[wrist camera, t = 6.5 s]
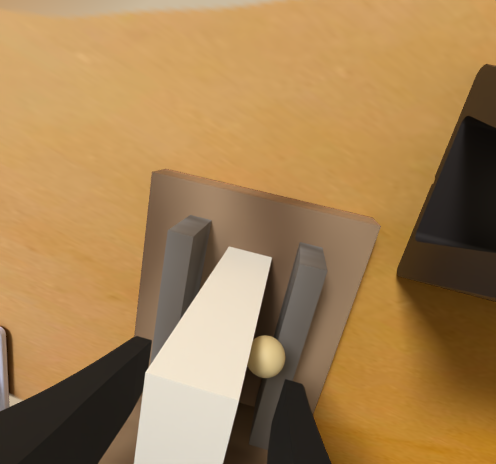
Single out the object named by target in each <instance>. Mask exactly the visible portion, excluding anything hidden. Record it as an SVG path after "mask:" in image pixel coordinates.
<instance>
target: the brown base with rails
mask: <svg viewBox="0 0 496 464" xmlns="http://www.w3.org/2000/svg"><path fill="white" fill-rule="evenodd" d="M380 227H381V226H380V225H379V224H378V223H377V222H376V221H375V220H374V219H373V218H372V217H368V216H363V215H359V214H355V213H351V212H346V211H342V210H338V209H334V208H330V207H325V206H321V205H317V204H313V203H308V202H304V201H300V200H296V199H291V198H287V197H283V196H279V195H274V194H270V193H266V192H262V191H257V190H253V189H249V188H245V187H241V186H236V185H232V184H228V183H224V182H219V181H215V180H211V179H207V178H202V177H198V176H194V175H190V174H185V173H181V172H177V171H173V170H169V169H163V170H159V171H154V172H152V177H151V187H150V196H149V205H148V215H147V224H146V233H145V242H144V252H143V261H142V270H141V279H140V289H139V298H138V307H137V317H136V326H135V335H134V337H135V336H139V337H142V338H146V339H149V340H152V344H151V352H150V360H149V366H150V365H151V363H152V362H153V360H154V359H155V357H156V356H157V354H158V353H159V351H160V350H161V348H162V347H163V345H164V344H165V342H166V341H167V339H168V338H169V336H170V335H171V333H172V332H173V330H174V329H175V327H176V326H177V324H178V323H179V321H180V320H181V318H182V317H183V315H184V314H185V312H186V311H187V309H188V308H189V306H190V305H191V303H192V302H193V300H194V299H195V297H196V296H197V294H198V293H199V291H200V290H201V288H202V287H203V285H204V283H205V282H206V280H207V279H208V277H209V276H210V274H211V273H212V271H213V270H214V268H215V267H216V265H217V264H218V262H219V261H220V259H221V258H222V256H223V255H224V253H225V252H226V250H227V249H228V247H233V248H237V249H241V250H245V251H249V252H253V253H256V254H260V255H264V256H268V257H272V260H271V264H270V268H269V273H268V277H267V281H266V286H265V290H264V294H263V299H262V303H261V307H260V312H259V316H258V320H257V325H256V329H255V333H254V338H253V340H254V339H255V338H257V337H259V336H264V335H266V336H271V337H274V338H275V339H277V340H278V341H279V342H280V343H281V345H282V346H283V348H284V351H285V363H284V366H283V368H282V370H281V371H280V372H279V373H278V374H277V375H275V376H274V377H271V378H261V377H258V376H256V375H255V374H253V373H252V372H251V370H250V369H249V367H248V365H247V368H246V372H245V377H244V381H243V385H242V390H241V394H240V398H239V402H238V406H237V410H236V414H235V418H234V422H233V426H232V430H231V434H230V438H229V442H228V446H227V450H226V453H225V457H224V461H223V464H267V453H268V446H269V438H270V431H271V424H272V420H273V417H274V413H275V410H276V407H277V404H278V400H279V397H280V394H281V391H282V387H283V384H284V381H285V379H287V380H291V381H294V382H298V383H301V384H303V386H304V387H305V391H306V395H307V398H308V402H309V405H310V408H311V411H312V414H313V413H314V410H315V408H316V405H317V402H318V399H319V396H320V394H321V391H322V388H323V385H324V383H325V380H326V377H327V374H328V371H329V369H330V366H331V363H332V360H333V358H334V355H335V352H336V349H337V346H338V344H339V341H340V338H341V335H342V333H343V330H344V327H345V324H346V321H347V319H348V316H349V313H350V310H351V308H352V305H353V302H354V299H355V296H356V294H357V291H358V288H359V285H360V283H361V280H362V277H363V274H364V271H365V269H366V266H367V263H368V260H369V258H370V255H371V252H372V249H373V246H374V244H375V241H376V238H377V235H378V232H379V230H380ZM142 395H143V392H142V394H141V396H140V398H139V400H138V402H137V404H136V405H135V407H134V409H133V411H132V413H131V414H130V416H129V417H128V419H127V421H126V422H125V424H124V425H123V427H122V428H121V430H120V431H119V433H118V434H117V436H116V437H115V439H114V440H113V442H112V443H111V445H110V446H109V448H108V449H107V451H106V452H105V454H104V455H103V457H102V458H101V460H100V461H99V463H98V464H134V459H135V451H136V443H137V435H138V427H139V419H140V411H141V403H142Z"/></svg>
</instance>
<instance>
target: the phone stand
mask: <svg viewBox="0 0 496 464" xmlns="http://www.w3.org/2000/svg"><path fill="white" fill-rule="evenodd" d="M435 176H436V180H435V182H434V184H432V185H431V188H430V190H429V192H428V195H427V197H426V200H425V202H424V205H423V207H422V210H421V212H420V214H419V217H418V219H417V222H416V224H415V227H414V229H413V232H412V234H411V236H410V239H409V241H408V244H407V246H406V249H405V251H404V254H403V256H402V258H401V261H400V263H399V266H398V269H397V274H398V276H399V277H403V278H407V279H411V280H415V281H418V282H422V283H426V284H430V285H434V286H438V287H441V288H445V289H449V290H453V291H457V292H461V293H464V294H468V295H472V296H476V297H480V298H484V299H487V300H491V301H495V302H496V66H494V65H489V64H485V65H484V66H483V67H482V68H481V69H480V70H479V72H478V73H477V75H476V78H475V80H474V82H473V85H472V87H471V90H470V92H469V95H468V97H467V100H466V102H465V104H464V107H463V109H462V112H461V114H460V117H459V119H458V122H457V124H456V126H455V129H454V131H453V134H452V136H451V139H450V141H449V144H448V146H447V148H446V151H445V153H444V156H443V158H442V161H441V163H440V166H439V168H438V170H437V173H436V175H435Z"/></svg>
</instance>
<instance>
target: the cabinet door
mask: <svg viewBox="0 0 496 464" xmlns="http://www.w3.org/2000/svg"><path fill="white" fill-rule="evenodd" d="M271 260H272V257H268V256H264V255H260V254H256V253H253V252H249V251H245V250H241V249H237V248H233V247H228V249H227V250H226V252H225V253H224V255H223V256H222V258H221V259H220V261H219V262H218V264H217V265H216V267H215V268H214V270H213V271H212V273H211V274H210V276H209V277H208V279H207V280H206V282H205V283H204V285H203V287H202V288H201V290H200V291H199V293H198V294H197V296H196V297H195V299H194V300H193V302H192V303H191V305H190V306H189V308H188V309H187V311H186V312H185V314H184V315H183V317H182V318H181V320H180V321H179V323H178V324H177V326H176V327H175V329H174V330H173V332H172V333H171V335H170V336H169V338H168V339H167V341H166V342H165V344H164V345H163V347H162V348H161V350H160V351H159V353H158V354H157V356H156V357H155V359H154V360H153V362H152V363H151V365H150V366H149V368H148V369H147V371H146V372H145V379H144V387H143V395H142V403H141V411H140V419H139V427H138V435H137V443H136V451H135V459H134V464H223V461H224V457H225V453H226V450H227V446H228V442H229V438H230V434H231V430H232V426H233V422H234V418H235V414H236V410H237V406H238V402H239V398H240V394H241V390H242V385H243V381H244V377H245V372H246V368H247V365H248V367H249V369H250V370H251V372H252V373H253V374H255V375H256V376H258V377H261V378H271V377H274V376H275V375H277V374H278V373H279V372H280V371H281V370H282V368H283V366H284V363H285V351H284V348H283V346H282V345H281V343H280V342H279V341H278V340H277V339H275V338H274V337H271V336H266V335H264V336H259V337H257V338H255V339H254V340H253V338H254V333H255V329H256V325H257V320H258V316H259V312H260V307H261V303H262V299H263V294H264V290H265V286H266V281H267V277H268V273H269V268H270V264H271Z"/></svg>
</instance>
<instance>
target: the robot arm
mask: <svg viewBox="0 0 496 464" xmlns="http://www.w3.org/2000/svg"><path fill="white" fill-rule="evenodd" d="M151 344H152V340H149V339H146V338H142V337H139V336H135V337H133V338H132V339H130V340H128V341H127V342H125V343H124V344H122V345H121V346H119V347H118V348H116V349H115V350H113V351H111V352H110V353H108V354H107V355H105V356H104V357H102V358H100V359H99V360H97V361H95V362H94V363H92V364H90V365H89V366H87V367H86V368H84V369H82V370H81V371H79V372H77V373H75V374H74V375H72V376H70V377H68V378H66V379H65V380H63V381H61V382H59V383H57V384H56V385H54V386H52V387H50V388H48V389H46V390H44V391H42V392H40V393H38V394H36V395H34V396H32V397H30V398H28V399H26V400H24V401H22V402H20V403H18V404H15V405H13V406H11V407H9V389H8V368H7V348H6V332H5V330H4V329H3V328H2V327H0V464H98V463H99V461H100V460H101V458H102V457H103V455H104V454H105V452H106V451H107V449H108V448H109V446H110V445H111V443H112V442H113V440H114V439H115V437H116V436H117V434H118V433H119V431H120V430H121V428H122V427H123V425H124V424H125V422H126V421H127V419H128V417H129V416H130V414H131V413H132V411H133V409H134V407H135V405H136V404H137V402H138V400H139V398H140V396H141V394H142V392H143V387H144V379H145V372H146V371H147V369H148V368H149V360H150V352H151ZM267 464H331V461H330V459H329V456H328V454H327V452H326V449H325V447H324V444H323V441H322V439H321V436H320V434H319V431H318V428H317V426H316V423H315V420H314V417H313V414H312V411H311V408H310V405H309V402H308V398H307V395H306V391H305V387H304V386H303V384H301V383H298V382H294V381H291V380H287V379H285V381H284V384H283V387H282V391H281V394H280V397H279V400H278V404H277V407H276V410H275V413H274V417H273V420H272V424H271V431H270V438H269V446H268V453H267Z"/></svg>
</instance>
